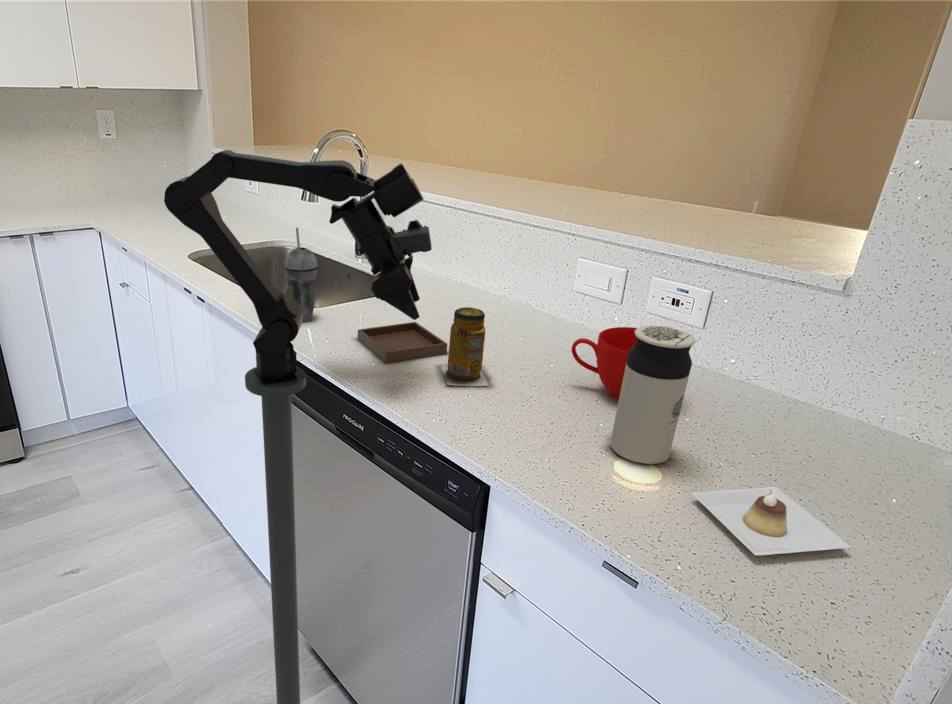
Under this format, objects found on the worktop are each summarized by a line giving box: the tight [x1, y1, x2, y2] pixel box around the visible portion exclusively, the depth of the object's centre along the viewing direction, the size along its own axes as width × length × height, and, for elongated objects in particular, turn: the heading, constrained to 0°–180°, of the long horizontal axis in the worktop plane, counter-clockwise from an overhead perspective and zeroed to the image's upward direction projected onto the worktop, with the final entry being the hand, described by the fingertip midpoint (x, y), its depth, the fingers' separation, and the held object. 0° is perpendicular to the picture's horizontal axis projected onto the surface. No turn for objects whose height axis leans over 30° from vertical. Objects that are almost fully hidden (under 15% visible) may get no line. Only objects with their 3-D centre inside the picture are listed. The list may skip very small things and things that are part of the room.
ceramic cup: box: [571, 326, 638, 401], centre depth 109 cm, size 13×17×10 cm
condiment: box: [440, 306, 489, 388], centre depth 113 cm, size 7×8×12 cm
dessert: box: [691, 486, 852, 557], centre depth 77 cm, size 12×12×5 cm
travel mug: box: [609, 324, 696, 465], centre depth 90 cm, size 8×8×18 cm
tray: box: [357, 321, 448, 364], centre depth 128 cm, size 13×13×2 cm
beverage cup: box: [283, 227, 319, 323], centre depth 138 cm, size 7×7×20 cm
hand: (417, 309), depth 112 cm, fingers open, 9 cm apart
